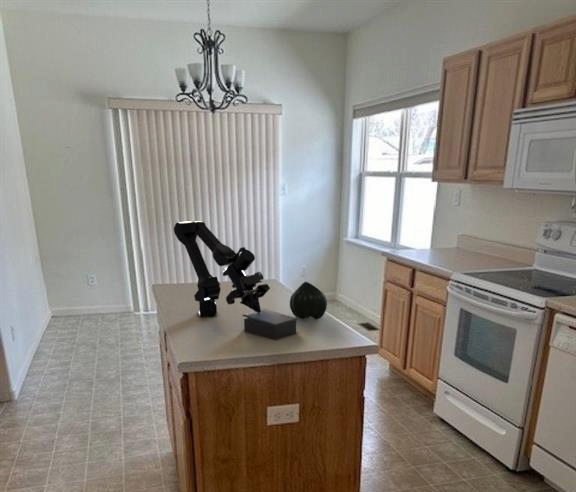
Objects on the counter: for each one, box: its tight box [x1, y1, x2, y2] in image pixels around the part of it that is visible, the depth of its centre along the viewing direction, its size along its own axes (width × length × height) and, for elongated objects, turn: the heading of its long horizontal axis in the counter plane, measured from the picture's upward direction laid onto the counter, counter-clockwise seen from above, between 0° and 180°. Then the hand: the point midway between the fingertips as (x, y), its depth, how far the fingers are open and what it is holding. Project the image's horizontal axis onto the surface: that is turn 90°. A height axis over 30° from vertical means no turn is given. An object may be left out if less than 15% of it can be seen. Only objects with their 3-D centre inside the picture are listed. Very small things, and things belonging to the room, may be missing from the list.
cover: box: [242, 308, 298, 326], centre depth 196 cm, size 16×12×1 cm
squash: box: [289, 281, 328, 320], centre depth 216 cm, size 14×15×15 cm
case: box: [243, 317, 297, 340], centre depth 197 cm, size 16×12×5 cm
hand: (259, 312), depth 199 cm, fingers closed
